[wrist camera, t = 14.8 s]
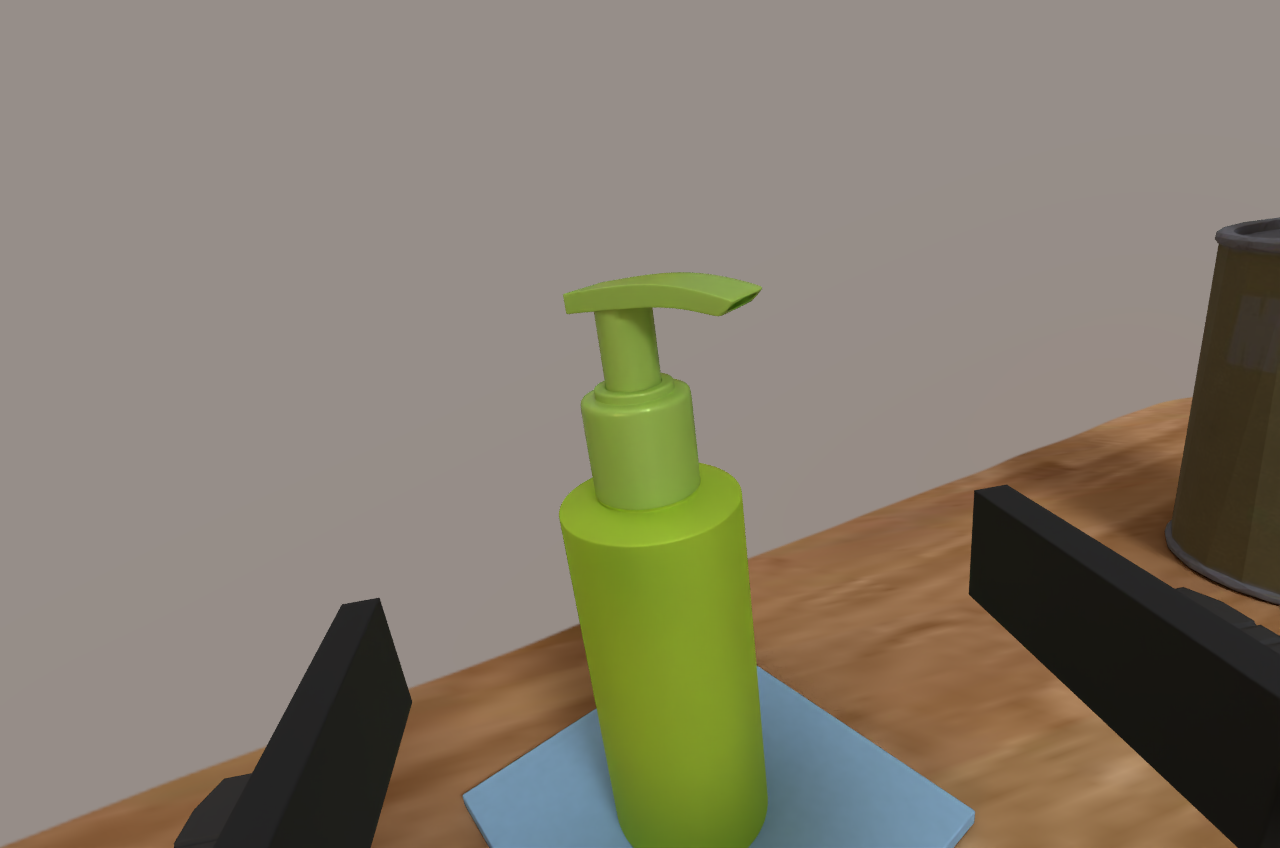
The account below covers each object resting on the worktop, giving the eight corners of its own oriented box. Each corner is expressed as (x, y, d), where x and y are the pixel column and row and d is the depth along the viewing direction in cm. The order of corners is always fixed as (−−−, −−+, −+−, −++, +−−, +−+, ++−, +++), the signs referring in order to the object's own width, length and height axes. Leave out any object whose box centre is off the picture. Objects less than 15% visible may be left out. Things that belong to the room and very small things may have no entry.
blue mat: (464, 805, 27) (461, 795, 26) (711, 642, 34) (710, 633, 34) (683, 1181, 16) (680, 1169, 16) (974, 822, 23) (975, 810, 23)
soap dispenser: (754, 920, 21) (689, 297, 14) (586, 826, 24) (472, 303, 18) (816, 779, 25) (790, 255, 18) (666, 718, 29) (599, 267, 22)
